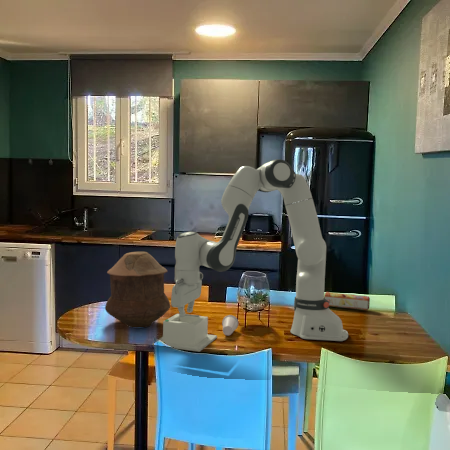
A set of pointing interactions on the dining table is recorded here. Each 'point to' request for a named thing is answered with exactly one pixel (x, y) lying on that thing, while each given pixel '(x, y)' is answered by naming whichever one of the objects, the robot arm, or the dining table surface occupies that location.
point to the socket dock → (187, 332)
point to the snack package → (347, 300)
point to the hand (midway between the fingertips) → (186, 314)
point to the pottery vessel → (137, 290)
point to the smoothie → (229, 324)
